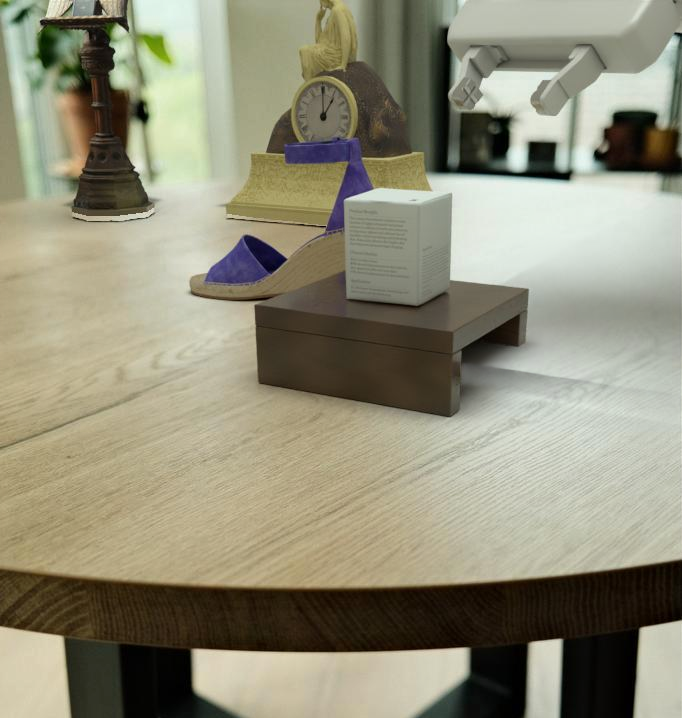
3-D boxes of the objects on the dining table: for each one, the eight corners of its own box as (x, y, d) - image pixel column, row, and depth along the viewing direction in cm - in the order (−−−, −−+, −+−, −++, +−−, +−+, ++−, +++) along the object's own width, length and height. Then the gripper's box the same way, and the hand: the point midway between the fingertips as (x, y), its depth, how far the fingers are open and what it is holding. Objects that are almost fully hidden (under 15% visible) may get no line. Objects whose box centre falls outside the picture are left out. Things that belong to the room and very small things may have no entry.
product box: (452, 291, 78) (455, 191, 74) (417, 308, 73) (420, 202, 70) (380, 283, 80) (380, 186, 77) (343, 299, 75) (341, 197, 72)
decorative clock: (226, 218, 146) (212, -17, 133) (276, 206, 156) (267, -14, 143) (401, 234, 133) (403, -25, 120) (442, 219, 143) (449, -22, 130)
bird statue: (149, 227, 140) (123, -64, 125) (55, 228, 140) (18, -62, 125) (171, 208, 155) (150, -54, 140) (86, 209, 155) (56, -52, 140)
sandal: (217, 279, 110) (207, 131, 103) (389, 293, 103) (390, 136, 97) (178, 295, 103) (165, 139, 97) (360, 312, 96) (359, 144, 90)
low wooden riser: (524, 363, 81) (529, 288, 78) (450, 417, 70) (453, 331, 67) (349, 338, 88) (348, 268, 85) (257, 382, 77) (253, 304, 75)
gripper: (738, -16, 69) (621, 146, 69) (535, -2, 85) (438, 129, 85) (702, -94, 65) (577, 77, 65) (496, -65, 81) (394, 73, 81)
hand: (497, 107), depth 75 cm, fingers open, 8 cm apart
